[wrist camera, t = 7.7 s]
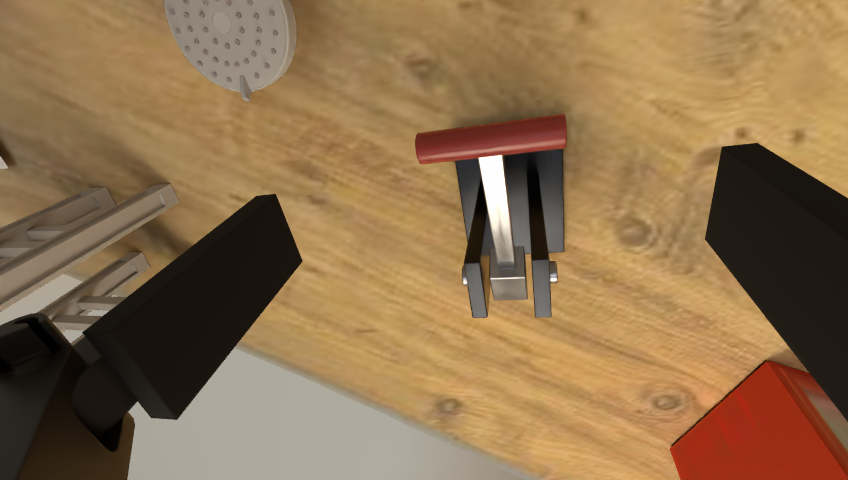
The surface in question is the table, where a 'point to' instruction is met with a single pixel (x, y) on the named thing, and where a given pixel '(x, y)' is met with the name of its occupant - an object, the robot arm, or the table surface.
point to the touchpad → (2, 164)
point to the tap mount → (515, 223)
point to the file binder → (768, 433)
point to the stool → (77, 251)
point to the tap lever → (497, 182)
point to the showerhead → (235, 40)
